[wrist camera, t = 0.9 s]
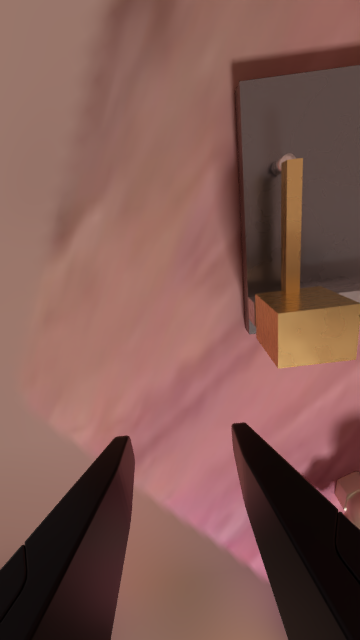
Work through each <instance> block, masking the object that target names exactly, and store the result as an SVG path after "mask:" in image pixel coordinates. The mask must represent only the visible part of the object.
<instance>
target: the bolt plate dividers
mask: <svg viewBox="0 0 360 640" xmlns="http://www.w3.org/2000/svg"><path fill="white" fill-rule="evenodd" d="M235 104H236V126H237V149H238V172H239V194H240V217H241V240H242V262H243V285H244V308H245V328H246V330H247V331H248V333H249V334H255V333H256V303H255V294H257V293H265V292H274V291H281V175H274V174H273V172H272V170H271V168H272V164H273V163H274V162H275V161H276V160H278V159H280V158H281V157H283V156H285V155H286V154H293V155H294V156H295V157H296V159H297V158H303V176H302V217H301V258H300V288H307V287H315V286H322V287H324V288H326V289H329V290H331V291H333V292H336V293H338V294H340V295H342V296H345V297H347V298H349V299H352V300H354V301H356V302H359V303H360V65H355V66H348V67H341V68H334V69H326V70H319V71H312V72H304V73H297V74H290V75H282V76H275V77H268V78H261V79H253V80H246V81H239V84H238V86H237V88H236V90H235Z"/></svg>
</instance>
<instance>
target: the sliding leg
mask: <svg viewBox="0 0 360 640" xmlns="http://www.w3.org/2000/svg"><path fill="white" fill-rule="evenodd" d="M271 170H272V172H273V174H274V175H281V291H274V292H265V293H257V294H255V303H256V337H257V339H258V341H259V342H260V344H261V345H262V346H263V348H264V349H265V351H266V352H267V354H268V355H269V356H270V358H271V359H272V361H273V362H274V363H275V365H276V366H277V368H286V367H295V366H304V365H313V364H321V363H330V362H339V361H348V360H356V355H357V345H358V335H359V325H360V303H359V302H356V301H354V300H352V299H349V298H347V297H345V296H342V295H340V294H338V293H336V292H333V291H331V290H329V289H326V288H324V287H322V286H315V287H307V288H300V258H301V217H302V176H303V158H297V159H296V157H295V156H294V155H293V154H286V155H285V156H283V157H281V158H280V159H278V160H276V161H275V162H274V163H273V164H272V168H271Z"/></svg>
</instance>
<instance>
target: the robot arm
mask: <svg viewBox="0 0 360 640" xmlns="http://www.w3.org/2000/svg"><path fill="white" fill-rule="evenodd" d="M232 441H233V451H234V456H235V461H236V466H237V470H238V475H239V480H240V485H241V489H242V494H243V499H244V503H245V507H246V510H247V514H248V517H249V520H250V523H251V526H252V529H253V532H254V536H255V539H256V542H257V545H258V548H259V551H260V554H261V557H262V560H263V563H264V566H265V569H266V573H267V576H268V579H269V582H270V585H271V588H272V591H273V594H274V597H275V600H276V603H277V606H278V610H279V613H280V616H281V619H282V621H283V625H284V628H285V631H286V634H287V637H288V640H360V529H359V528H358V527H357V526H355V525H354V524H353V523H352V522H351V521H350V520H349V519H348V518H347V517H346V516H345V515H344V514H343V513H342V512H338V509H337V508H336V507H335V506H334V505H333V504H332V503H331V502H330V501H329V500H328V499H326V498H325V497H324V496H323V495H322V494H321V493H320V492H319V491H318V490H317V489H316V488H315V487H314V486H313V485H312V484H310V483H309V482H308V481H307V480H306V479H305V478H304V477H303V476H302V475H301V474H300V473H299V472H298V471H297V470H295V469H294V468H293V467H292V466H291V465H290V464H289V463H288V462H287V461H286V460H285V459H284V458H283V457H282V456H281V455H279V454H278V453H277V452H276V451H275V450H274V449H273V448H272V447H271V446H270V445H269V444H268V443H267V442H266V441H264V440H263V439H262V438H261V437H260V436H259V435H258V434H257V433H256V432H255V431H254V430H253V429H252V428H251V427H250V426H248V425H247V424H246V423H234V424H232ZM134 469H135V458H134V453H133V448H132V444H131V439H130V437H129V436H118V437H115V438H114V439H113V440H112V441H111V443H110V444H109V445H108V446H107V447H106V448H105V450H104V451H103V452H102V453H101V454H100V455H99V457H98V458H97V459H96V460H95V461H94V462H93V463H92V465H91V466H90V467H89V468H88V469H87V471H86V472H85V473H84V474H83V475H82V476H81V477H80V479H79V480H78V481H77V482H76V483H75V484H74V486H73V487H72V488H71V489H70V490H69V491H68V492H67V494H66V495H65V496H64V497H63V498H62V499H61V501H60V502H59V503H58V504H57V505H56V506H55V507H54V509H53V510H52V511H51V512H50V513H49V514H48V516H47V517H46V518H45V519H44V520H43V521H42V523H41V524H40V525H39V526H38V527H37V528H36V529H35V531H34V532H33V533H32V534H31V535H30V537H29V538H28V539H27V540H26V541H25V545H22V546H21V547H20V548H19V549H18V550H17V551H16V552H15V554H14V555H13V556H12V557H11V558H10V559H9V561H8V562H7V563H6V564H5V565H4V566H3V567H2V569H1V570H0V640H111V634H112V628H113V623H114V617H115V611H116V605H117V598H118V593H119V587H120V581H121V575H122V570H123V564H124V558H125V552H126V546H127V541H128V535H129V529H130V522H131V513H132V512H131V511H132V499H133V484H134Z"/></svg>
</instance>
